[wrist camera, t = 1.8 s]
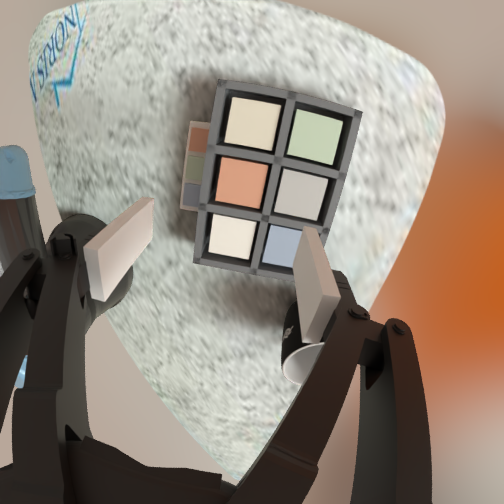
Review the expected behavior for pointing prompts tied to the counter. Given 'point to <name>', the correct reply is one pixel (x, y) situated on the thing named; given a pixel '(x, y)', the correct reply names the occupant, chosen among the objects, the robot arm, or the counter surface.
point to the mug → (297, 349)
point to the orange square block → (241, 181)
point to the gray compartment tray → (277, 179)
